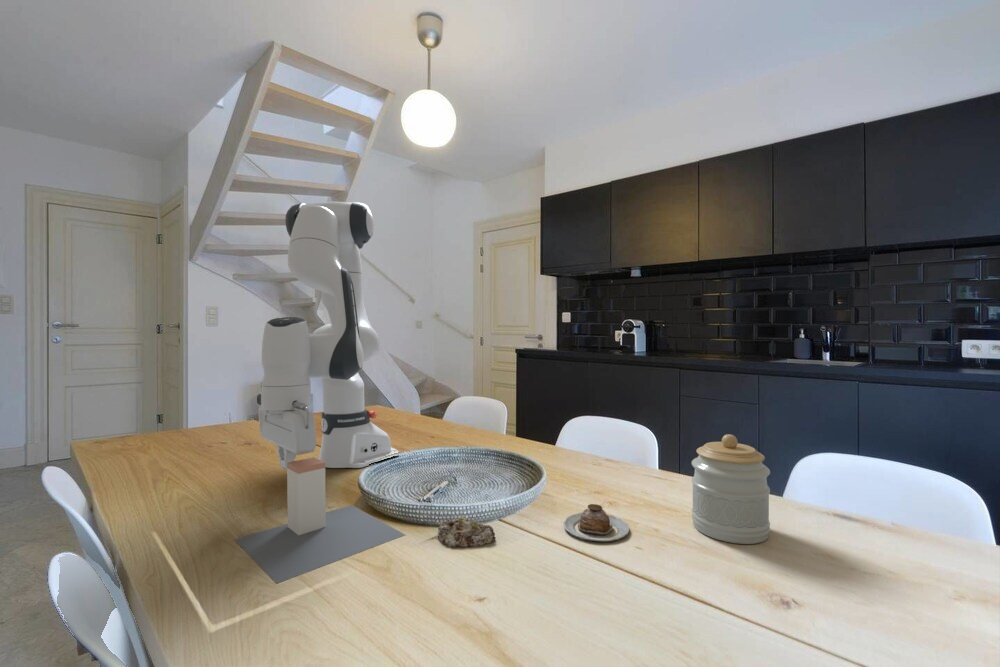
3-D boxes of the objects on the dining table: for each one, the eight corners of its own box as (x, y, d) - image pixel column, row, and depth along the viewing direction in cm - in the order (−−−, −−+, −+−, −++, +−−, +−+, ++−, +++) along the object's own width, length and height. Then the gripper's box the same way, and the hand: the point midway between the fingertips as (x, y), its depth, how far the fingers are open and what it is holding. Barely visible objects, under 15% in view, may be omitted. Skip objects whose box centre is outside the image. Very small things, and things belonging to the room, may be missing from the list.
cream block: (314, 518, 89) (313, 457, 89) (325, 526, 86) (325, 462, 86) (287, 526, 86) (287, 462, 86) (298, 535, 82) (297, 468, 82)
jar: (766, 522, 89) (766, 430, 88) (774, 552, 77) (774, 446, 77) (692, 511, 94) (692, 424, 94) (689, 537, 82) (690, 438, 82)
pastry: (580, 513, 94) (580, 490, 94) (638, 527, 87) (638, 503, 87) (552, 534, 84) (552, 509, 84) (615, 553, 77) (615, 525, 77)
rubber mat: (351, 507, 96) (351, 504, 96) (405, 538, 82) (405, 534, 82) (234, 542, 81) (234, 539, 81) (276, 587, 67) (276, 583, 67)
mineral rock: (428, 534, 79) (445, 505, 87) (430, 555, 80) (446, 524, 88) (488, 543, 76) (500, 512, 84) (489, 565, 78) (501, 532, 85)
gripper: (325, 402, 87) (325, 476, 87) (284, 392, 101) (284, 455, 101) (290, 406, 82) (291, 484, 82) (252, 395, 97) (253, 461, 97)
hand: (287, 468), depth 92 cm, fingers closed
